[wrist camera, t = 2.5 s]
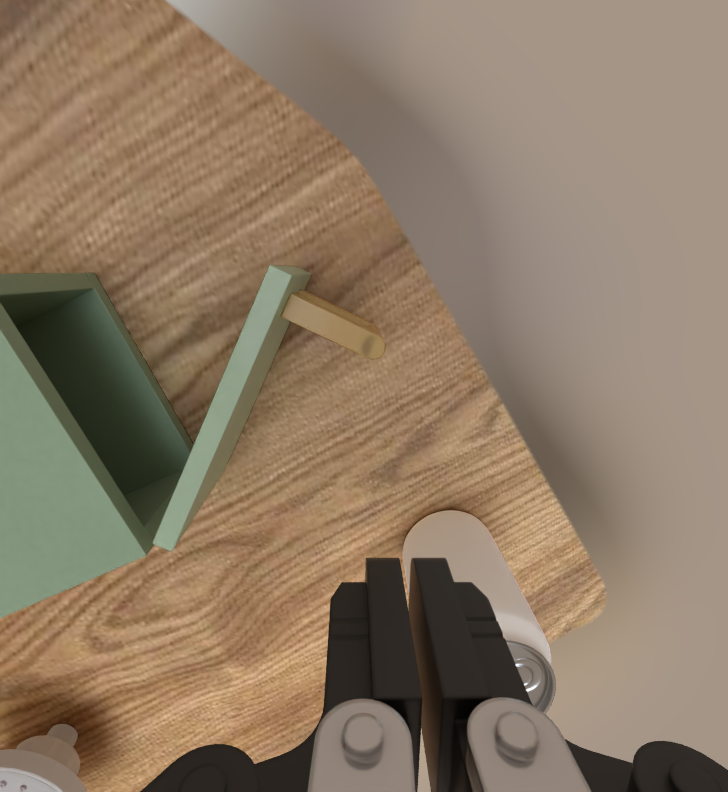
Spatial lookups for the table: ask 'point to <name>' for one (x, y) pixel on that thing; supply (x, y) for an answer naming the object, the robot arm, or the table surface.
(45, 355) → the cabinet
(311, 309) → the cabinet door
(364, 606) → the robot arm
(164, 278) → the table surface
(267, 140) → the table surface
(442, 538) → the can
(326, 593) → the table surface
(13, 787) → the showerhead
